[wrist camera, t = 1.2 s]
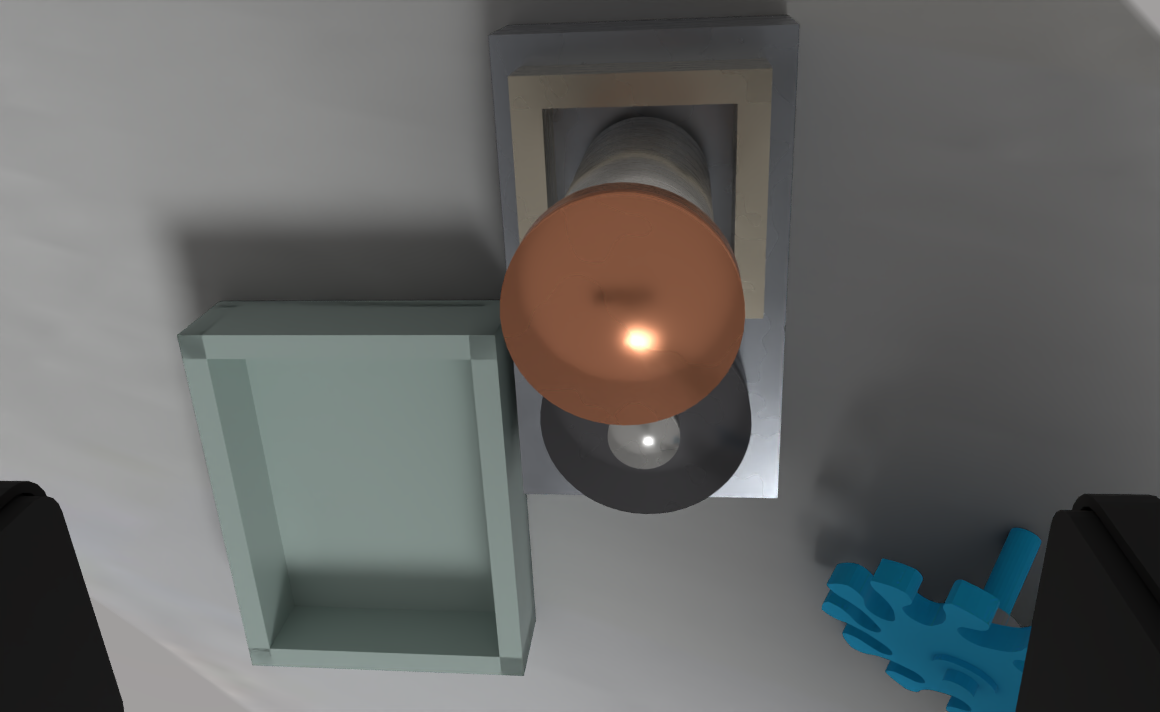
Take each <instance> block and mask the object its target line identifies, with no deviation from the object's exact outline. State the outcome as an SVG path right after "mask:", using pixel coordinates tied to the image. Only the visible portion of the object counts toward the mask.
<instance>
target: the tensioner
mask: <svg viewBox="0 0 1160 712" xmlns="http://www.w3.org/2000/svg"><path fill="white" fill-rule="evenodd" d="M488 37H489V50H490V63H491V76H492V89H493V102H494V115H495V128H496V141H497V154H498V167H499V180H500V193H501V206H502V219H503V231H504V244H505V257H506V270H507V269H508V267H509V264H510V262H511V260H512V258H513V256H514V254H515V252H516V250H517V248H518V246H519V244H520V243H521V241H522V239H523V238H524V236H525V234H526V233H527V231H528V230H529V228H530V227H531V226H532V225H533V223H534V222H535V221H536V220H537V219H538V218H539V217H540V216H541V215H542V214H543V213H544V212H545V211H546V210H547V209H548V208H550V207H551V206H552V205H554V204H555V203H557V202H558V201H560V200H561V199H563V198H565V196H566V194H567V192H568V190H569V187H570V185H571V183H572V181H573V179H574V176H575V174H576V172H577V170H578V168H579V165H580V163H581V161H582V159H583V157H584V155H585V152H586V151H587V149H588V147H589V146H590V144H591V143H592V142H593V141H594V139H595V138H596V137H597V136H598V135H599V134H600V133H601V132H603V131H604V130H605V129H607V128H608V127H610V126H611V125H613V124H615V123H617V122H620V121H623V120H625V119H630V118H634V117H654V118H659V119H663V120H666V121H669V122H671V123H673V124H675V125H677V126H679V127H680V128H682V129H683V130H685V131H686V132H687V133H688V134H689V135H691V137H692V138H693V139H694V140H695V141H696V142H697V144H698V145H699V147H700V148H701V150H702V152H703V154H704V156H705V158H706V161H707V164H708V169H709V175H710V185H711V196H712V206H713V217H714V223H715V224H716V225H717V226H718V227H719V229H720V230H721V231H722V233H723V234H724V236H725V237H726V239H727V240H728V242H729V244H730V246H731V248H732V250H733V252H734V255H735V258H736V261H737V264H738V266H739V271H740V276H741V282H742V288H743V294H744V301H745V324H744V332H743V336H742V341H741V345H740V348H739V350H738V353H737V355H736V358H735V360H734V362H733V364H732V365H731V367H730V369H729V371H728V372H727V374H726V375H725V376H724V378H723V379H722V380H721V382H720V383H719V384H718V385H717V386H716V387H715V388H714V389H713V390H712V391H711V392H710V393H709V394H708V395H707V396H706V397H705V398H703V399H702V400H701V401H699V402H698V403H697V404H695V405H694V406H692V407H690V408H689V409H687V410H685V411H683V412H681V413H679V414H677V415H674V416H672V417H670V418H667V419H663V420H660V421H657V422H652V423H646V424H640V425H610V424H604V423H598V422H593V421H590V420H587V419H583V418H580V417H578V416H575V415H573V414H571V413H569V412H566V411H564V410H563V409H561V408H559V407H558V406H556V405H554V404H552V403H551V402H550V401H548V400H547V399H546V398H545V397H543V396H542V395H541V394H539V393H538V392H537V391H536V390H535V389H534V388H533V387H532V386H531V385H530V384H529V383H528V381H527V380H526V379H525V378H524V376H523V375H522V374H521V373H520V371H519V369H518V368H517V366H516V364H515V363H514V374H515V387H516V400H517V413H518V426H519V439H520V452H521V465H522V478H523V491H524V494H573V495H585V496H587V497H589V498H590V499H592V500H594V501H596V502H598V503H600V504H603V505H605V506H607V507H610V508H614V509H617V510H620V511H626V512H631V513H641V514H657V513H666V512H672V511H676V510H680V509H684V508H687V507H689V506H692V505H694V504H697V503H699V502H701V501H702V500H704V499H706V498H708V497H742V498H777V495H778V474H779V452H780V431H781V409H782V388H783V367H784V345H785V324H786V302H787V281H788V260H789V238H790V217H791V195H792V174H793V153H794V131H795V110H796V88H797V67H798V46H799V24H798V23H797V22H796V21H795V20H794V19H792V18H791V17H790V16H789V15H774V16H747V17H720V18H693V19H665V20H638V21H611V22H583V23H556V24H529V25H507V26H505V27H504V28H502V29H500V30H498V31H496V32H494V33H492V34H490V35H488Z"/></svg>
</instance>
